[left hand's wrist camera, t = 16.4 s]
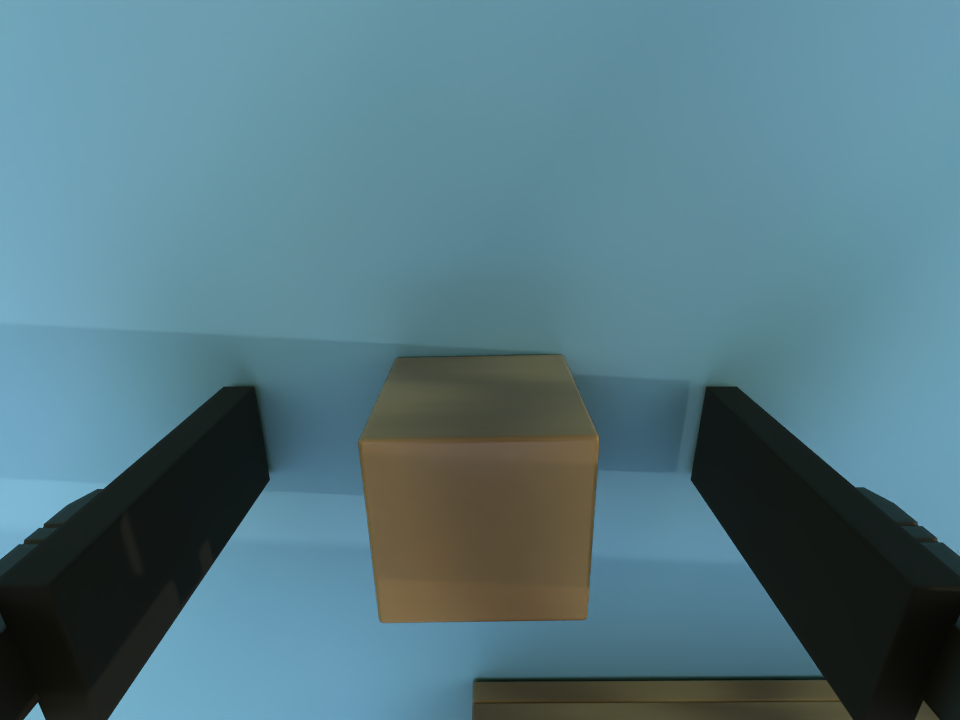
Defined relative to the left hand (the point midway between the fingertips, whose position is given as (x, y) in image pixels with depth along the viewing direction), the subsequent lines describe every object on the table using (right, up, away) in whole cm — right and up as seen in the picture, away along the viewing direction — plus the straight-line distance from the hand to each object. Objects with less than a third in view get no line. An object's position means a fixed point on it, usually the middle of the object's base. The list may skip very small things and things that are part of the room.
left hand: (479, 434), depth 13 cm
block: (0, 0, 0) cm, 0 cm away
